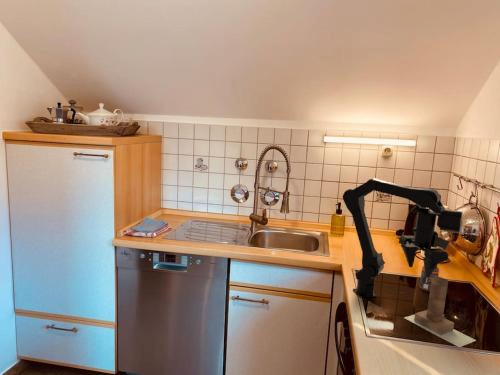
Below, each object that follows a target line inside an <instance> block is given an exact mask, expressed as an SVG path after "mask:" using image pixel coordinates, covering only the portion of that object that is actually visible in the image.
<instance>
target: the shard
mask: <svg viewBox="0 0 500 375" xmlns="http://www.w3.org/2000/svg"><path fill="white" fill-rule="evenodd" d="M367 302H368V303H367V306H366V314H370V313H372V314H373V315H375V316H379V317H380V316H381V317H383V318H388V316H387V314H386V313H385V312H384V311H382V310H384V308H383V307H382V306H380V305H378V304H376V303H374V302H372V301H370V300H369V299H368V301H367Z"/></svg>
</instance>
